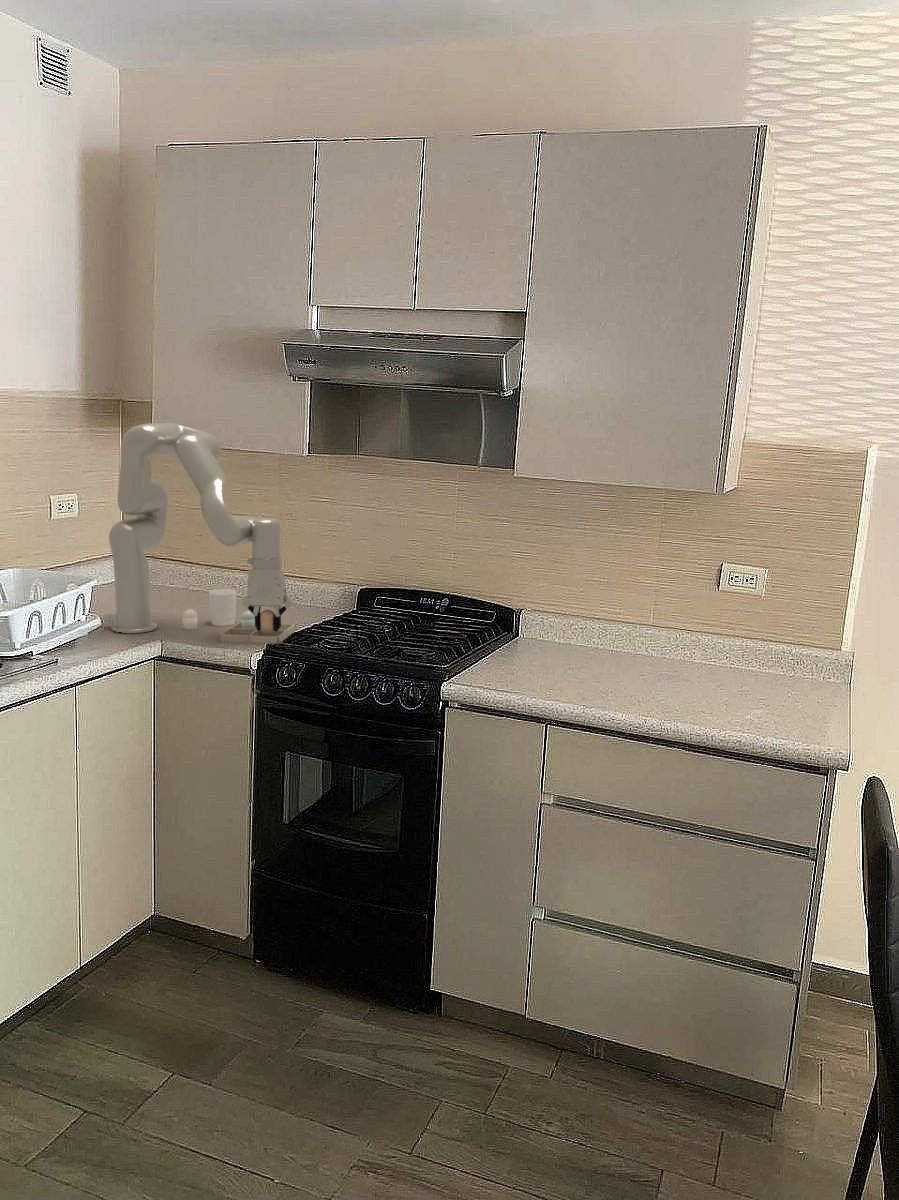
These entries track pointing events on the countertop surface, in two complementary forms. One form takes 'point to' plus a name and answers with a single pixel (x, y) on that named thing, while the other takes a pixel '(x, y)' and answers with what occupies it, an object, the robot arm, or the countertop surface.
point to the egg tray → (256, 634)
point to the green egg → (248, 620)
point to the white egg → (190, 620)
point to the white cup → (222, 607)
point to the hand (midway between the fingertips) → (268, 629)
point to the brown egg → (267, 621)
